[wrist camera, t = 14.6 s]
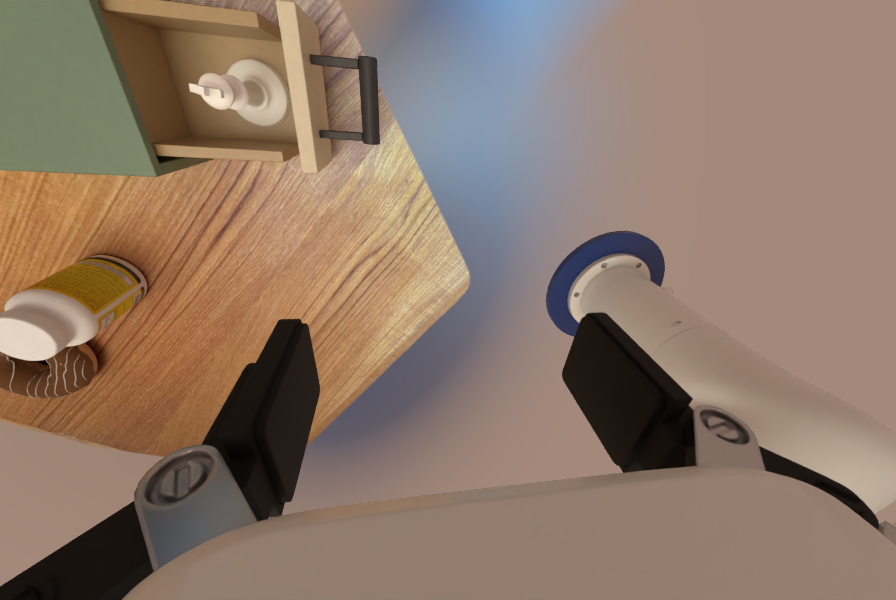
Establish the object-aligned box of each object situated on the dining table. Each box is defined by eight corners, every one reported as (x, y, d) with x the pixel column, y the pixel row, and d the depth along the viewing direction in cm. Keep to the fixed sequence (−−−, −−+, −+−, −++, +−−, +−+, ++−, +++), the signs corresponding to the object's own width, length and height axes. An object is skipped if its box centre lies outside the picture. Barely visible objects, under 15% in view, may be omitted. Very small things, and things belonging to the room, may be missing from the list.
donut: (-28, 346, 37) (-70, 370, 34) (24, 299, 35) (-15, 319, 32) (75, 392, 43) (48, 417, 39) (125, 354, 41) (101, 376, 37)
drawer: (377, 32, 27) (373, 11, 21) (382, 163, 32) (379, 177, 26) (147, 5, 24) (63, -29, 18) (194, 152, 30) (141, 165, 24)
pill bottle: (70, 251, 33) (-55, 308, 24) (138, 254, 35) (44, 310, 25) (96, 301, 37) (-5, 368, 27) (158, 302, 38) (81, 367, 28)
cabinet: (170, 0, 25) (71, -46, 17) (215, 159, 31) (157, 177, 23) (-43, -27, 23) (-265, -93, 15) (50, 150, 29) (-74, 167, 21)
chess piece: (292, 132, 29) (250, 143, 21) (232, 120, 28) (162, 127, 19) (288, 67, 27) (240, 49, 18) (223, 51, 25) (138, 26, 17)
